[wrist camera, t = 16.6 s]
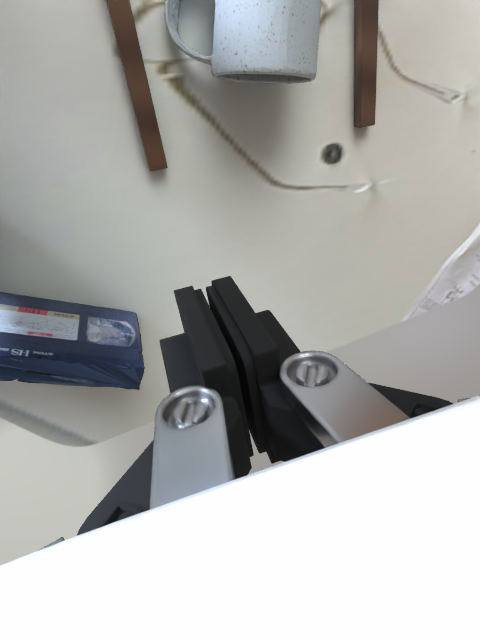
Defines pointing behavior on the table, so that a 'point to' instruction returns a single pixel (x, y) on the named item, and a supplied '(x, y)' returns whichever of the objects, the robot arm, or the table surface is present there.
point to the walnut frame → (142, 97)
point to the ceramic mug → (259, 40)
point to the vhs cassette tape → (68, 343)
